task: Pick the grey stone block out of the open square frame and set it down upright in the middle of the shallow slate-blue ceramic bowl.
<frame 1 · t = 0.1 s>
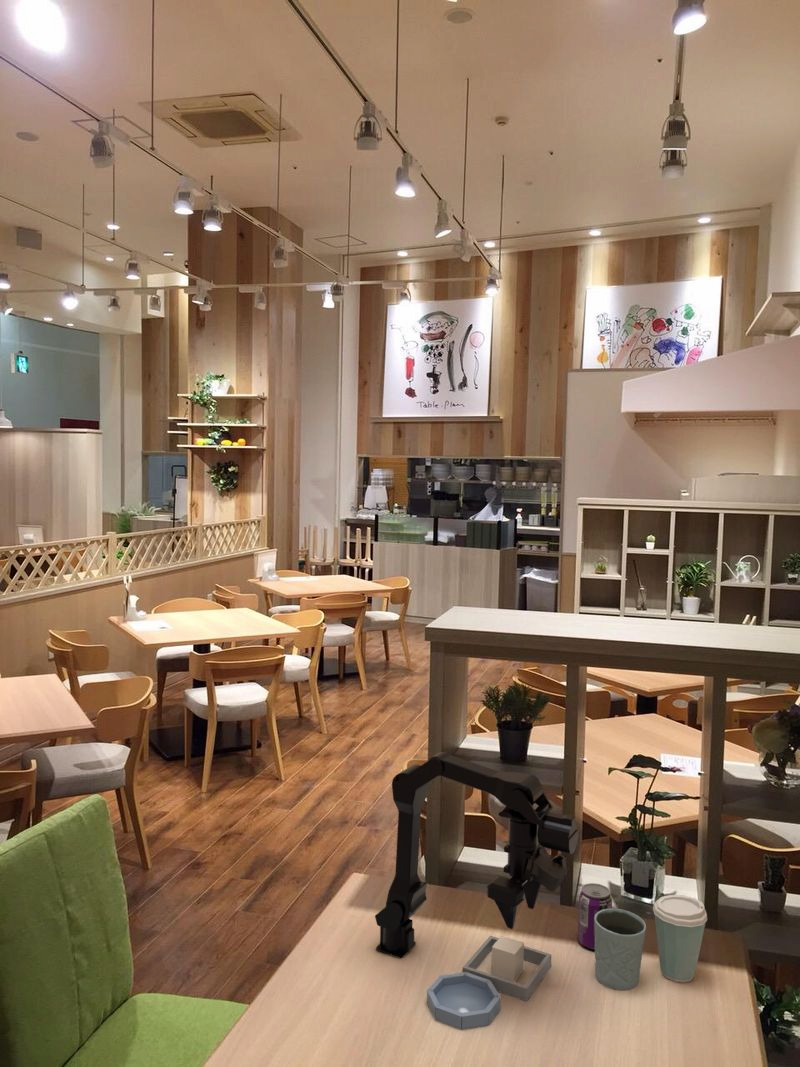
hand: (520, 918, 165), 14 cm above the table, tool pointing down, fingers open, 9 cm apart
stone block: (507, 973, 172), resting in open square frame
ceramic bowl: (463, 1005, 161), on the table
open square frame: (507, 972, 172), on the table
beverage can: (594, 944, 183), on the table
embossed ceramic cup: (618, 979, 170), on the table
disposable coffee cup: (677, 974, 172), on the table
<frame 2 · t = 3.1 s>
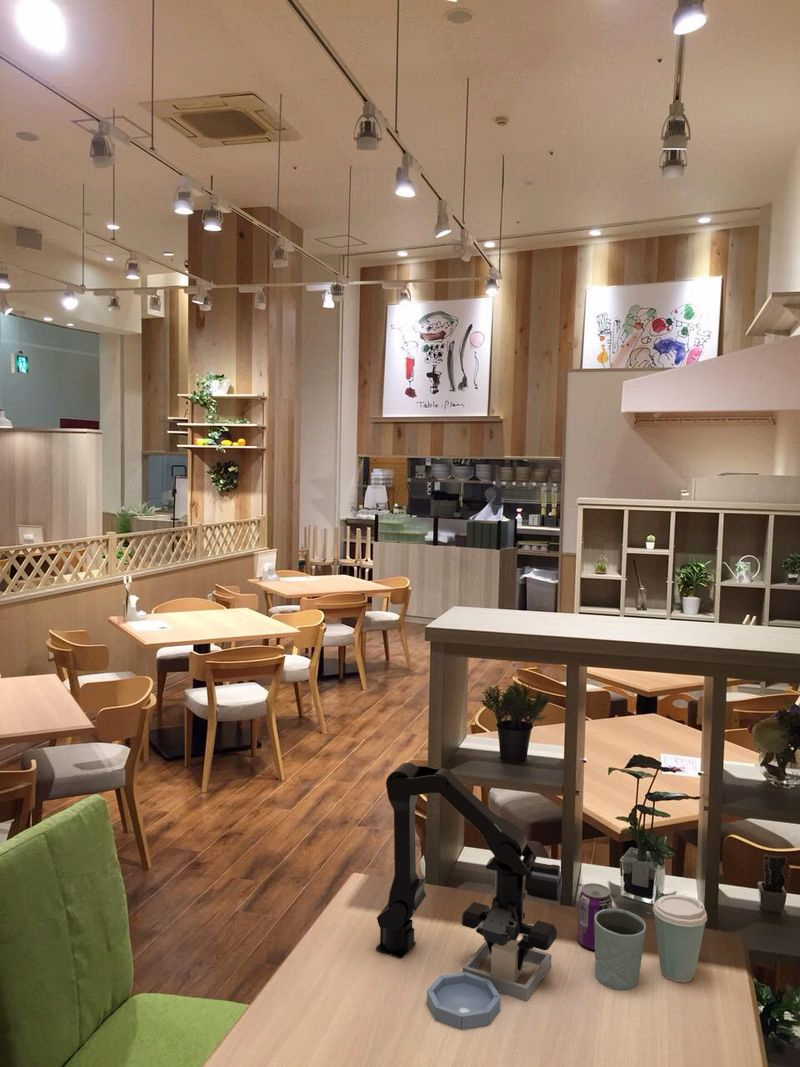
hand: (507, 965, 172), 2 cm above the table, tool pointing down, fingers closed on stone block, 5 cm apart
stone block: (507, 972, 172), resting in open square frame, touching gripper
everything else where it was.
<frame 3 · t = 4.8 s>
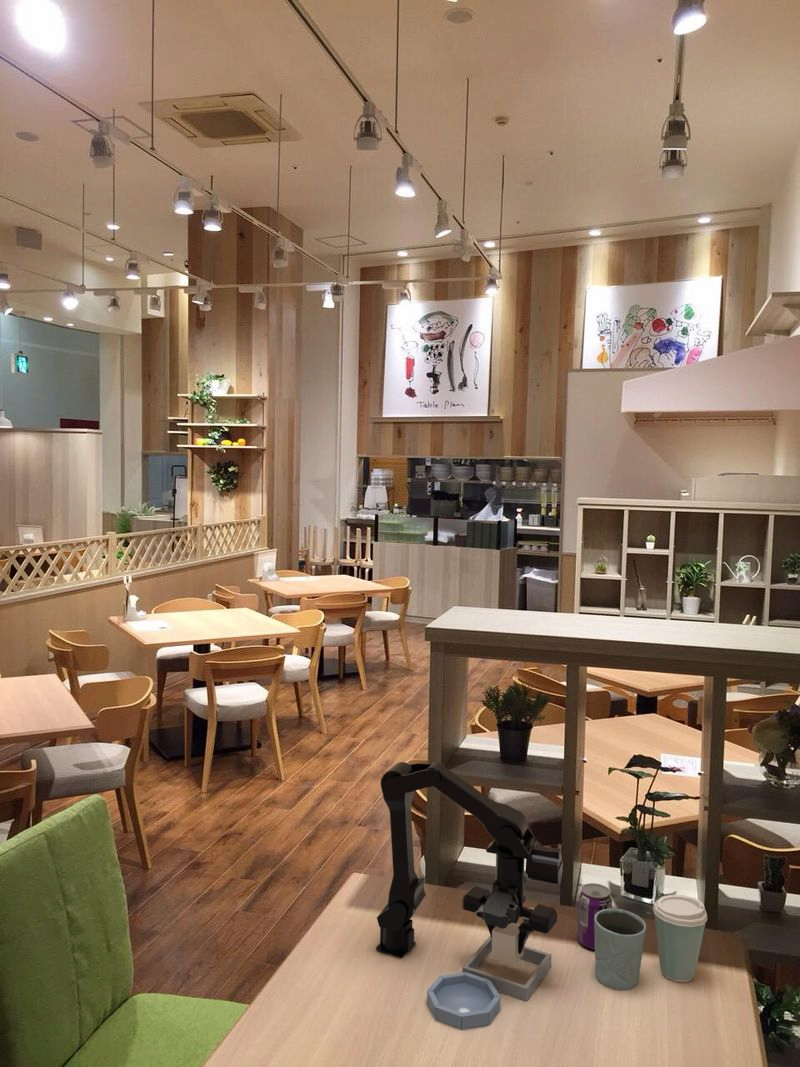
hand: (507, 949, 171), 5 cm above the table, tool pointing down, fingers closed on stone block, 5 cm apart
stone block: (507, 956, 171), point 3 cm above the table, touching gripper
everything else where it was.
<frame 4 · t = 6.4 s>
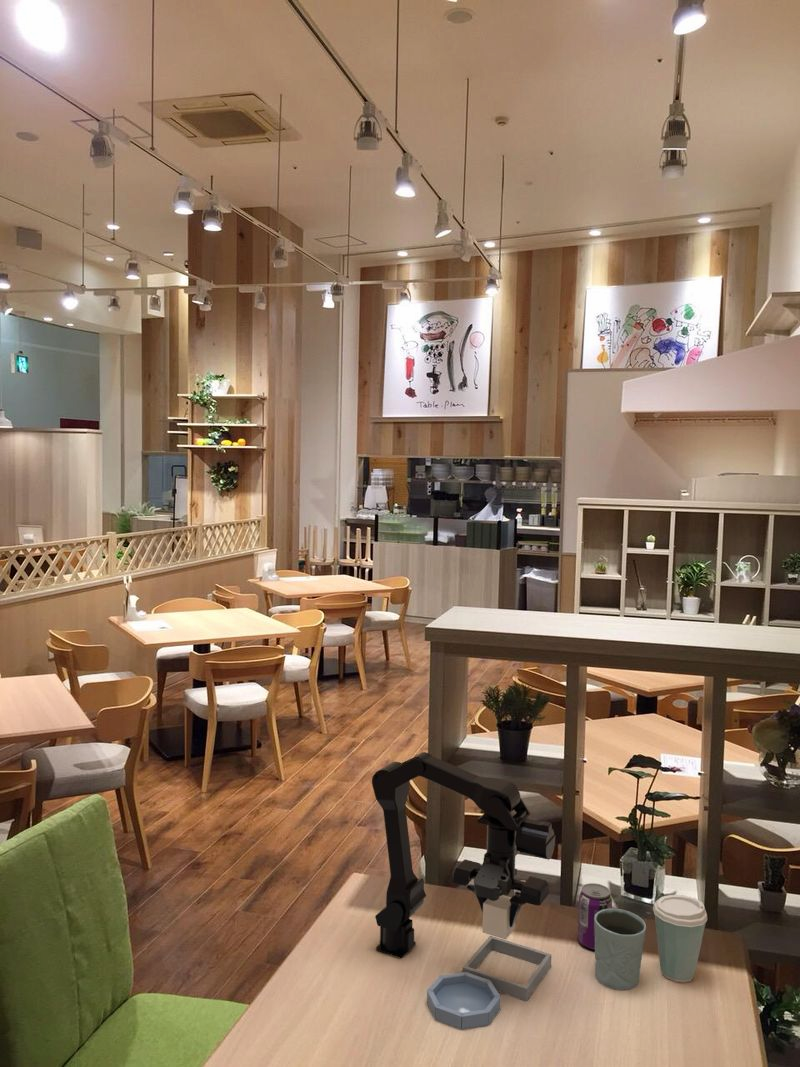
hand: (498, 922, 168), 12 cm above the table, tool pointing down, fingers closed on stone block, 5 cm apart
stone block: (498, 930, 169), point 10 cm above the table, touching gripper
everything else where it was.
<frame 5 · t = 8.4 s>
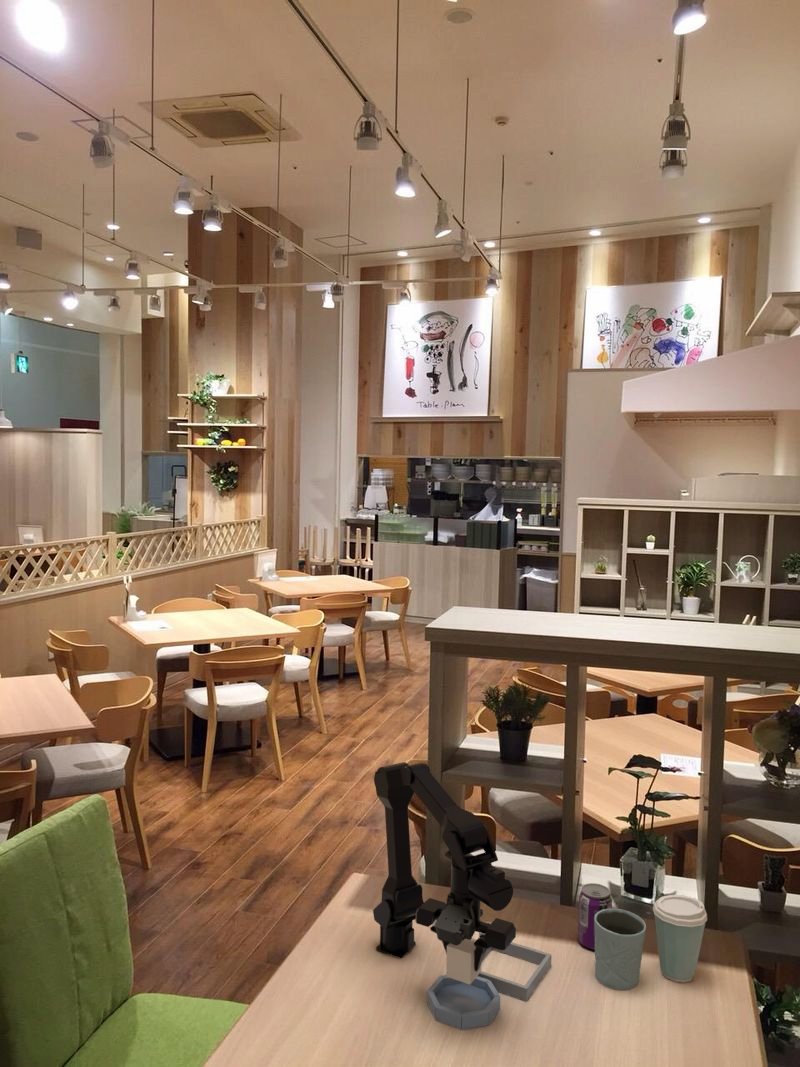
hand: (463, 966, 160), 8 cm above the table, tool pointing down, fingers closed on stone block, 5 cm apart
stone block: (463, 973, 160), point 6 cm above the table, touching gripper
everything else where it was.
when the fingers open (4 cm above the table, at t = 10.0 s): stone block drops 2 cm, resting on ceramic bowl.
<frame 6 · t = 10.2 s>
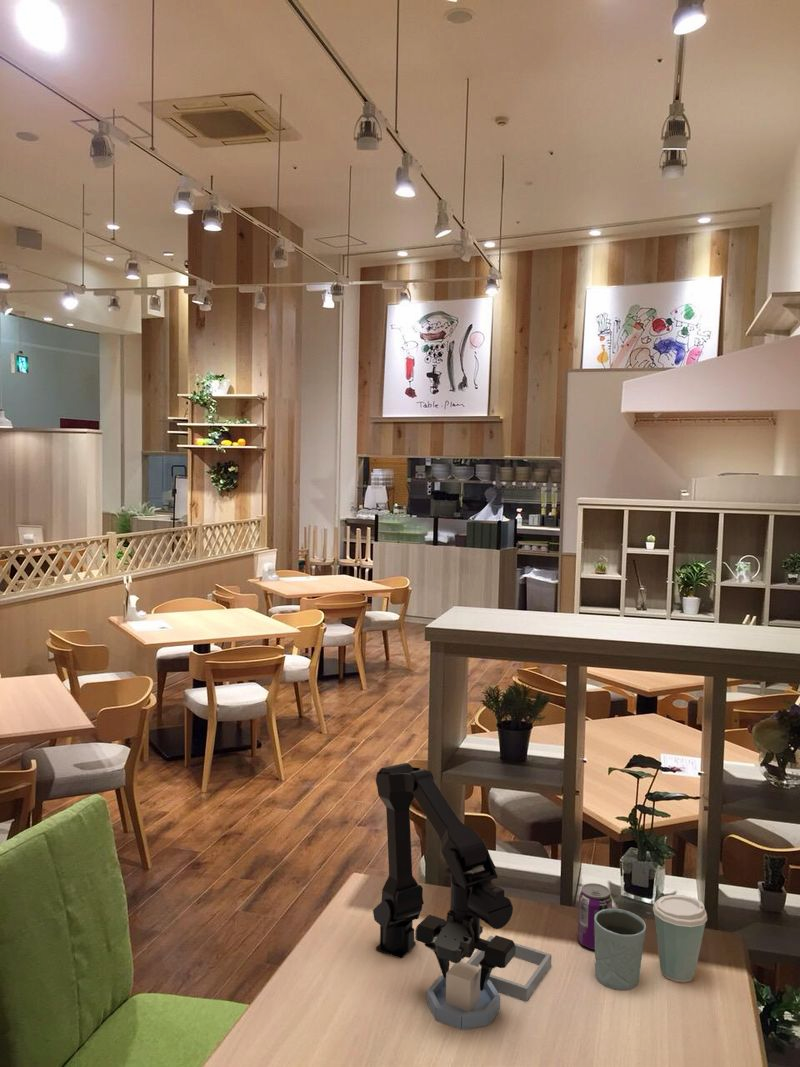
hand: (463, 983, 160), 4 cm above the table, tool pointing down, fingers open, 7 cm apart
stone block: (463, 1000, 161), point 1 cm above the table, touching ceramic bowl
everything else where it was.
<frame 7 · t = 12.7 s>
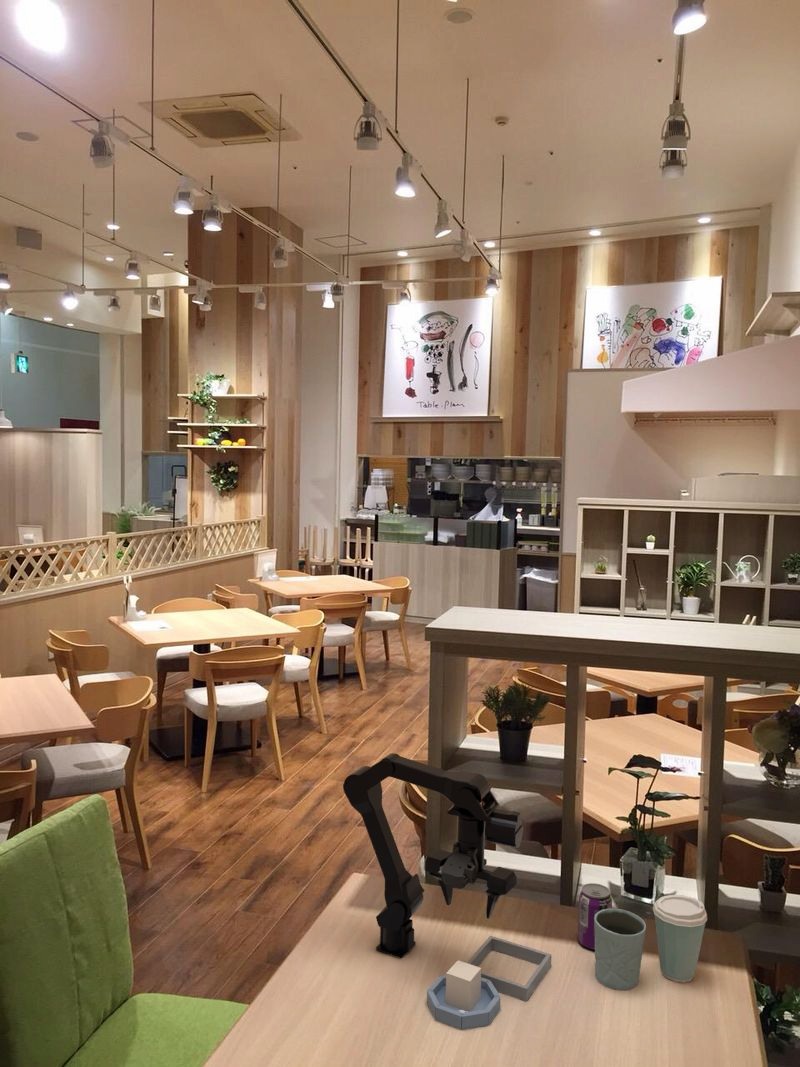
hand: (468, 911, 173), 12 cm above the table, tool pointing down, fingers open, 9 cm apart
nothing on the table moved.
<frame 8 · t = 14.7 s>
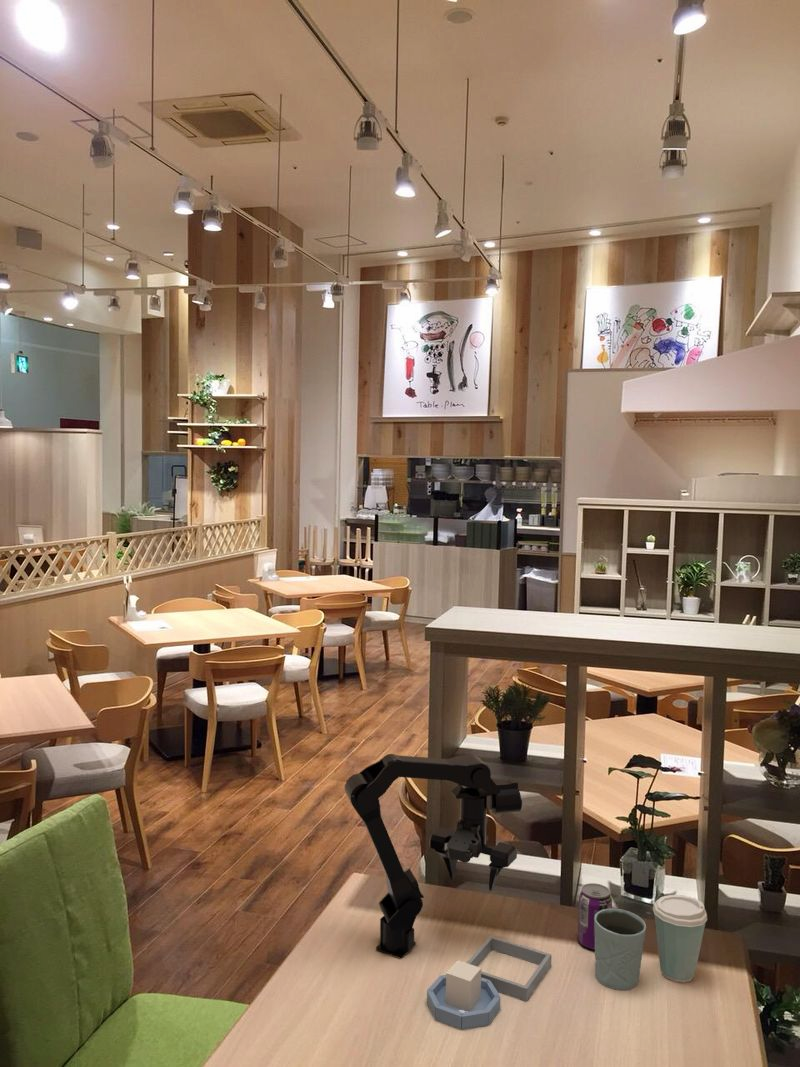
hand: (471, 884, 184), 12 cm above the table, tool pointing down, fingers open, 9 cm apart
nothing on the table moved.
at the end: stone block 0.1 cm off-centre on the ceramic bowl, point 1.0 cm above the ceramic bowl's base; stone block tilted 0°; the gripper is holding nothing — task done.
